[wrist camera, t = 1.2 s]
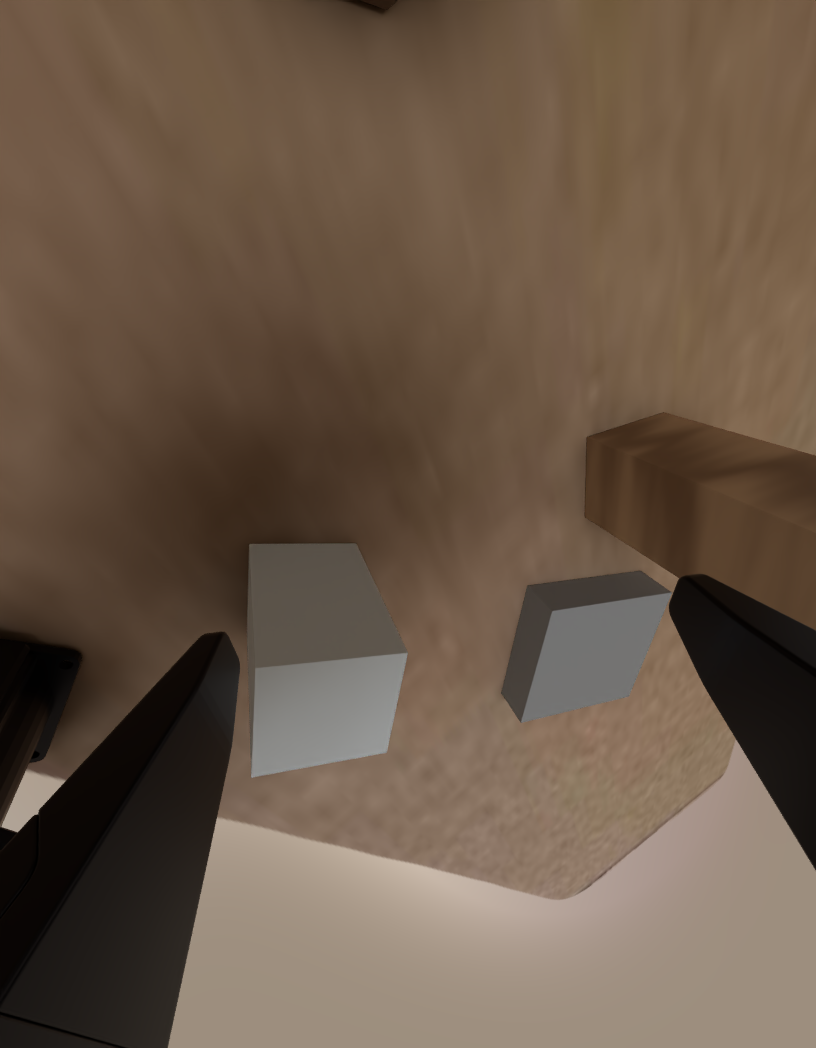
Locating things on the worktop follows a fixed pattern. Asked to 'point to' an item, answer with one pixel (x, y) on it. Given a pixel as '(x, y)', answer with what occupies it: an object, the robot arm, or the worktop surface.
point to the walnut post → (710, 506)
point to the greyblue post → (318, 657)
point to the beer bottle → (381, 3)
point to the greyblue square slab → (581, 642)
